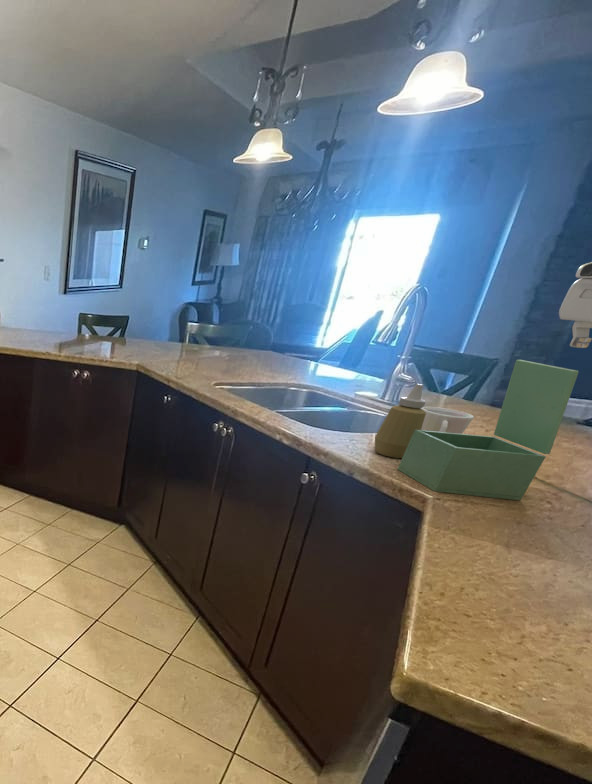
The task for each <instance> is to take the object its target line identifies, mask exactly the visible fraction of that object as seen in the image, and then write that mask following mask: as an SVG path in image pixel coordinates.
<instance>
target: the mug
mask: <svg viewBox="0 0 592 784" xmlns="http://www.w3.org/2000/svg"><path fill="white" fill-rule="evenodd" d="M421 409H423V410H424V411H425V412H426V415H425V418H424V422H423V425H422V428H421V430H425V431H436V432H447V433H458V434H464V432H465V430H466V429H467V428H468V426H469V425H470V423H471V422H472V421H473V420H474V419H475V416H474V415H472V414H470V413H468V412H465V411H461V410H456V409H451V408H445V407H439V406H424V407H423V408H421Z"/></svg>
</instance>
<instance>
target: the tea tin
mask: <svg viewBox="0 0 592 784" xmlns="http://www.w3.org/2000/svg"><path fill="white" fill-rule="evenodd" d="M546 457H547V456H546V455H545V454H542V453H539V452H537V451H534V450H531V449H529V448H526V447H524V446H521V445H518V444H516V443H513V442H511V441H508V440H505V439H503V438H500V437H497V436H490V435H480V434H469V433H462V434H458V433H447V432H436V431H425V430H415V431H414V433H413V435H412V438H411V440H410V442H409V444H408V447H407V449H406V451H405V453H404V455H403V458H401V460H400V462H399V464H398V467H397V469H396V470H398V472H401V473H402V474H405V475H406V476H407V477H409V478H411V479H413V480H414V481H416V482H417V483H420V484H421V485H423V486H424V487H426V488H427V489H429V490H432V491H433V492H438V493H444V494H445V493H447V494H455V495H466V496H472V497H473V496H474V497H485V498H492V499H493V498H494V499H503V500H512V501H521V500H522V499H523V497H524V496H525V494H526V492H527V490H528V488H529V486H530V485H531V483H532V482H533V480H534V478H535V476H536V474H537V473H538V472H539V469H540V468H541V466H542V465H543V462H544V461H545V459H546Z"/></svg>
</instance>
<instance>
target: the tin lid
mask: <svg viewBox="0 0 592 784" xmlns="http://www.w3.org/2000/svg"><path fill="white" fill-rule="evenodd" d="M579 372H580V371H579V370H576V369H570V368H566V367H561V366H556V365H550V364H546V363H545V364H544V363H541V362H540V363H539V362H535V361H529V360H524V359H516V360H515V362H514V365H513V369H512V372H511V376H510V380H509V383H508V386H507V389H506V393H505V396H504V399H503V402H502V405H501V409H500V412H499V416H498V418H497V423H496V427H495V429H494V432H493V436H495V437H497V438H500V439H503V440H505V441H508V442H510V443H513V444H516V445H518V446H521V447H524V448H526V449H529V450H532V451H534V452H537V453H540V454H542V455H550V454H551V451H552V449H553V447H554V443H555V440H556V438H557V435H558V432H559V429H560V426H561V423H562V420H563V417H564V415H565V412H566V410H567V406H568V403H569V400H570V398H571V394H572V392H573V389H574V386H575V384H576V381H577V377H578V374H579Z"/></svg>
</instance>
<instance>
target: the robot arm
mask: <svg viewBox="0 0 592 784" xmlns="http://www.w3.org/2000/svg"><path fill="white" fill-rule="evenodd" d="M575 278H576V279H577V278H578V279H577V280H575V281H574V282H573V283H572V284H571V286H570V287H569V289H568V291H567V293H566V294H565V297H564V299H563V301H562V303H561V305H560V308H559V311H558V317H559V319H560V320H564V321H574V323H573V325H572V326H571V329H572V330H571V331H572V339H571V341H570V343H569V347H571V348H576V349H577V348H578V349H586V348H588V347H589V346H590V343H591V342H592V337H589V336H590V329H592V261H591V262H588V263H585V264H582V265H580V267H578V269H577V270H576V272H575Z"/></svg>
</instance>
